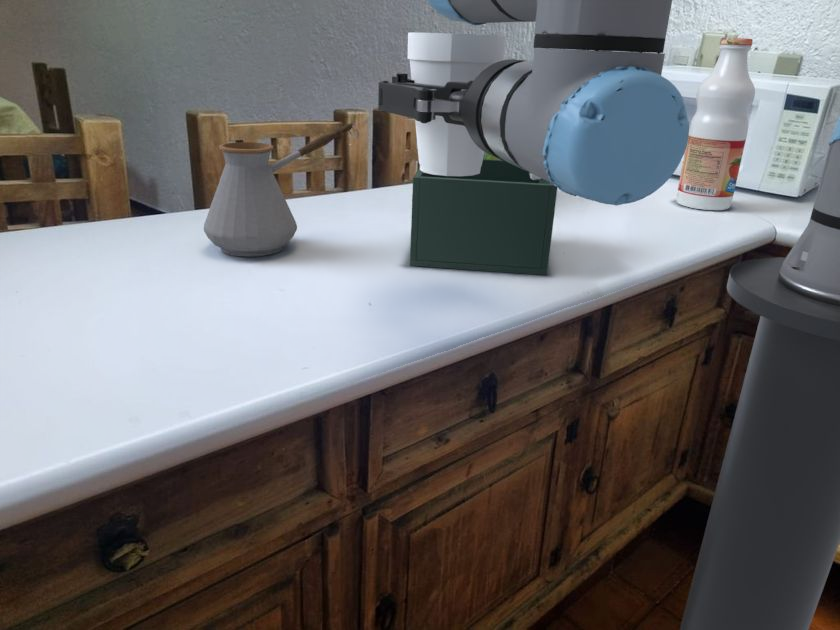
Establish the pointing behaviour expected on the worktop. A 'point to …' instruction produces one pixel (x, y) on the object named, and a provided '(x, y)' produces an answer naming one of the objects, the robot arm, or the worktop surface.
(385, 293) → the worktop surface
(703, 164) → the fruit juice
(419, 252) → the waste bin
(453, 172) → the foam cup
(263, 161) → the coffee pot
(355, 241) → the worktop surface
